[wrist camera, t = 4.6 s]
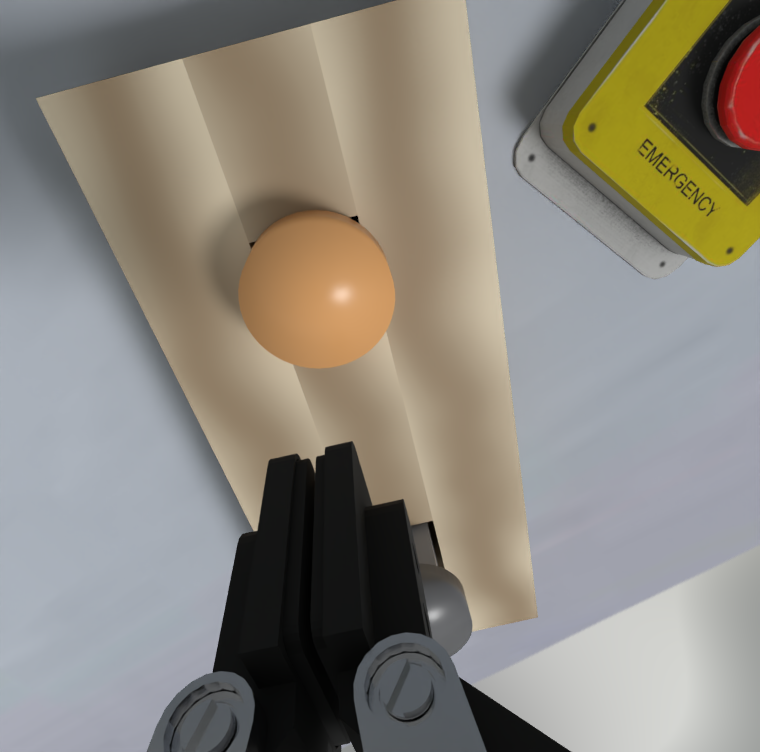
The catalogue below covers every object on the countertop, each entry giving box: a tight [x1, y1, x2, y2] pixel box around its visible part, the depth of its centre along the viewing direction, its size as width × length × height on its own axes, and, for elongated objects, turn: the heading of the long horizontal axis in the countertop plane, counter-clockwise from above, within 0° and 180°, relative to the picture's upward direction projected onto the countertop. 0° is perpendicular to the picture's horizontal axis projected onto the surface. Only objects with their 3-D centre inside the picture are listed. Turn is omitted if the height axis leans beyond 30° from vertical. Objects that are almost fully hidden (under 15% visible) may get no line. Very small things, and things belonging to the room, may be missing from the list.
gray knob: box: [411, 522, 473, 657], centre depth 24 cm, size 5×5×6 cm
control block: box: [36, 0, 538, 631], centre depth 23 cm, size 12×28×4 cm, turn 13°
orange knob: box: [238, 210, 395, 369], centre depth 19 cm, size 5×5×6 cm
